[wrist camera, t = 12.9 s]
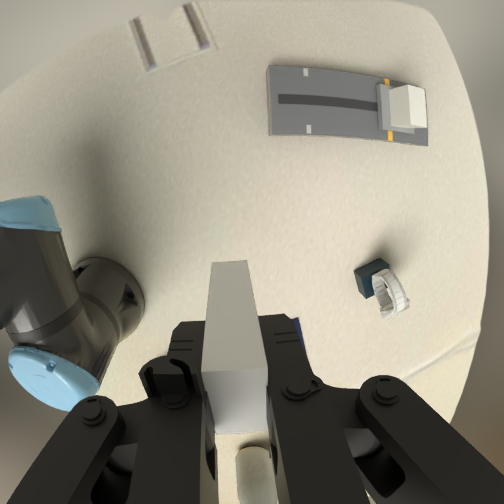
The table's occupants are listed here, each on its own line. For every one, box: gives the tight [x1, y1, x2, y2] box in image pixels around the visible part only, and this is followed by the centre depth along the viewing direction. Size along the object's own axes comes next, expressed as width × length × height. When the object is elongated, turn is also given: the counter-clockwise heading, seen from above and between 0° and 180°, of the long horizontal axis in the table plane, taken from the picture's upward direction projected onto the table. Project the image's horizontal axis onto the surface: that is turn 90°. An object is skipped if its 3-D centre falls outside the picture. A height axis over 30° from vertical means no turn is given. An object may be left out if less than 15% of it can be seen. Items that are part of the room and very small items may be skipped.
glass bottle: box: [235, 446, 278, 504], centre depth 50 cm, size 10×10×28 cm
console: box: [266, 66, 428, 146], centre depth 35 cm, size 26×10×3 cm, turn 92°
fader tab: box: [376, 84, 427, 134], centre depth 31 cm, size 6×7×6 cm
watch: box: [354, 258, 410, 319], centre depth 41 cm, size 6×8×11 cm
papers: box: [215, 319, 306, 433], centre depth 52 cm, size 24×30×4 cm
